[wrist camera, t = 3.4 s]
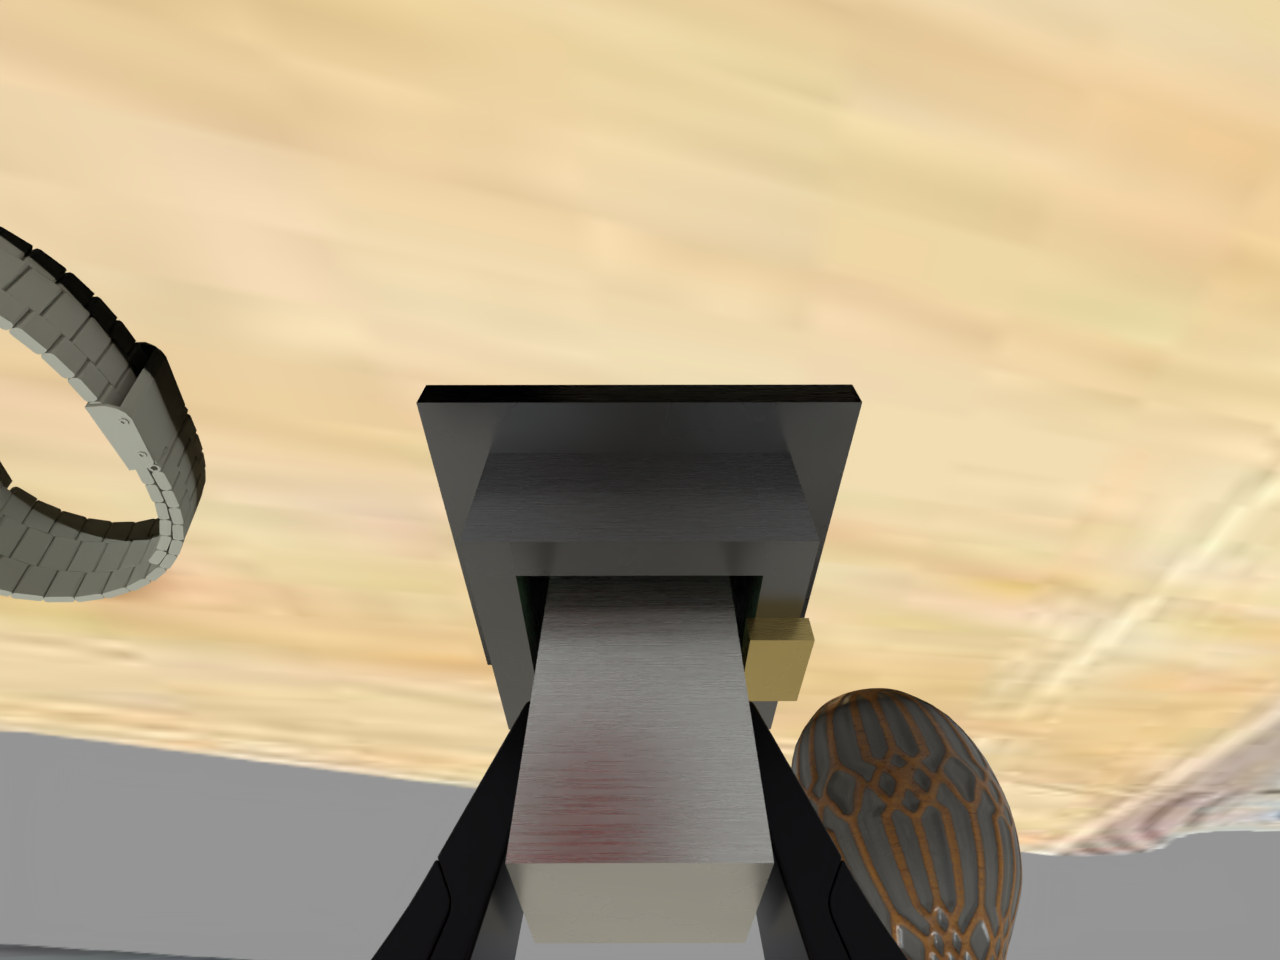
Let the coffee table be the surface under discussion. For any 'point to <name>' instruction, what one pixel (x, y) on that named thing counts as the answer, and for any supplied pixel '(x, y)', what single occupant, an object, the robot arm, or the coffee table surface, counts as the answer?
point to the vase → (915, 822)
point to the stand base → (641, 505)
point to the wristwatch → (128, 417)
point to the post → (639, 768)
